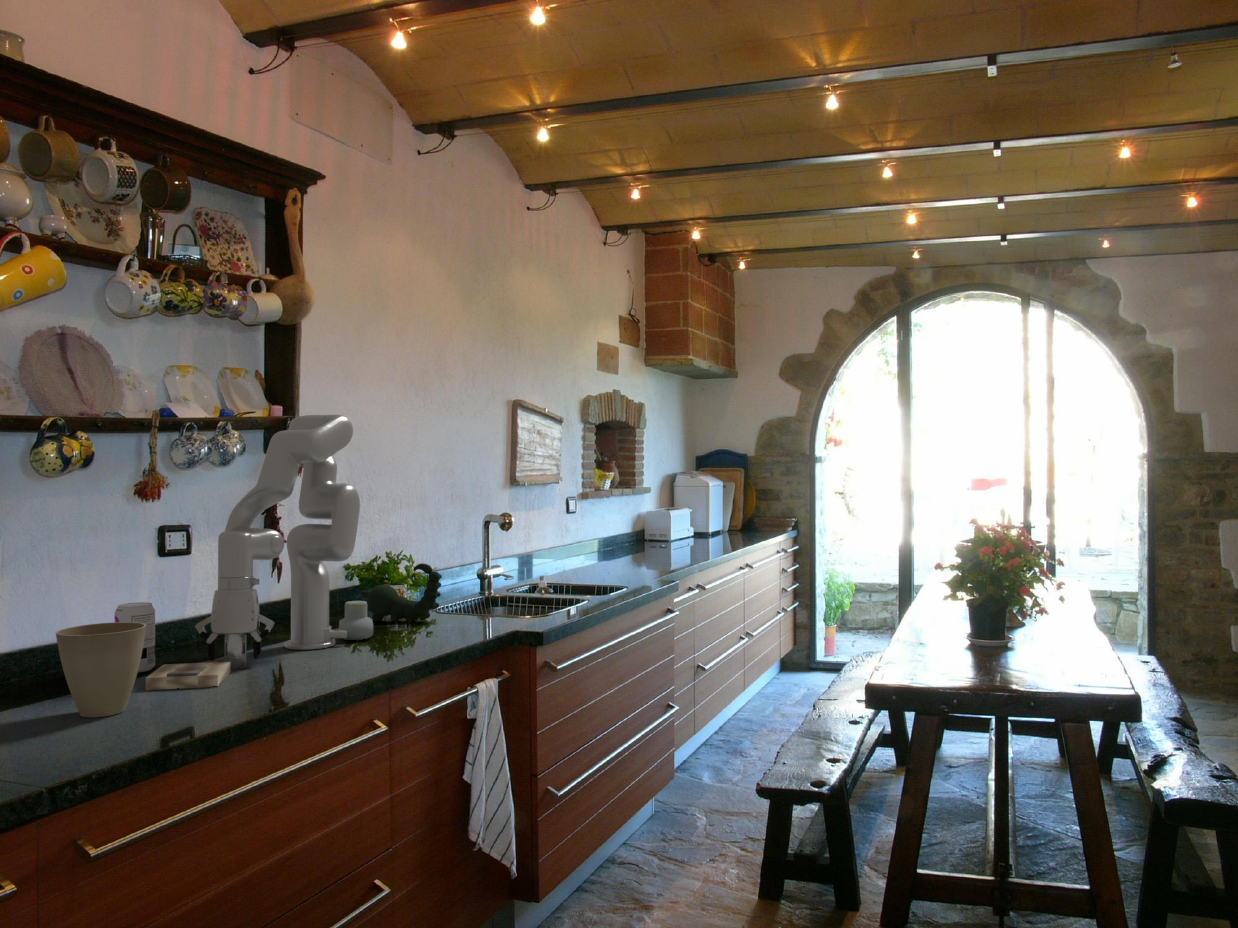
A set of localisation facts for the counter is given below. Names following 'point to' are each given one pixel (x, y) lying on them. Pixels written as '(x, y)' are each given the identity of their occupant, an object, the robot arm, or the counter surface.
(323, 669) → the counter surface
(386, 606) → the toy figurine
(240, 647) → the bushing
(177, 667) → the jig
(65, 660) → the plant pot
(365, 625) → the air freshener
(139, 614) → the supplement can
